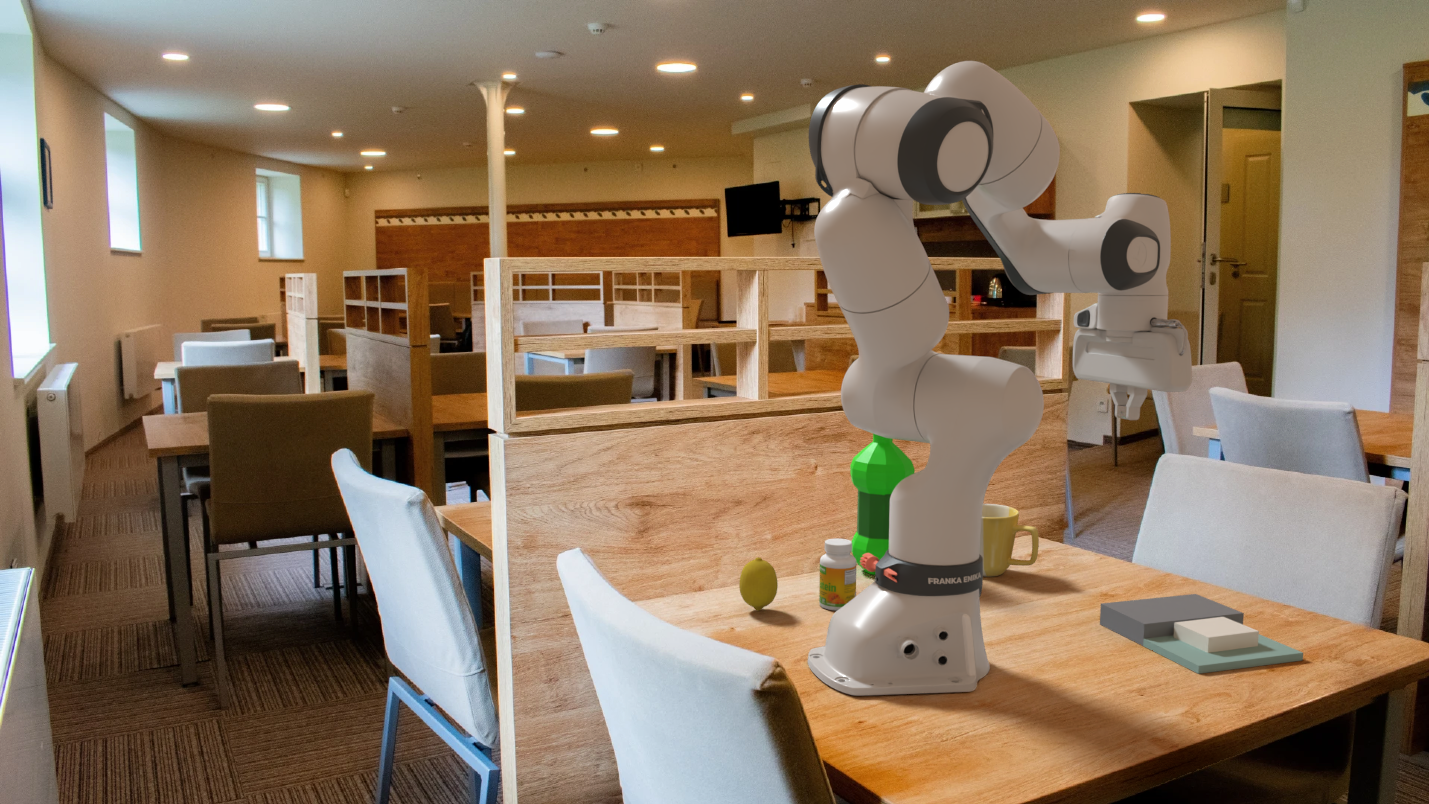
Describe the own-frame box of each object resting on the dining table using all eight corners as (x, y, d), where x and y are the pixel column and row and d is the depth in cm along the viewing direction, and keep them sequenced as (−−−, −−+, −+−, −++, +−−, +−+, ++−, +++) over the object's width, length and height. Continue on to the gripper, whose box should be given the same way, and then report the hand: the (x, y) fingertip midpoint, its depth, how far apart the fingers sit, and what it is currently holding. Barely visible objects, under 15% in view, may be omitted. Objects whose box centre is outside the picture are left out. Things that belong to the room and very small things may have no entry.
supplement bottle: (811, 605, 154) (812, 541, 153) (835, 597, 157) (836, 535, 156) (838, 614, 150) (839, 548, 149) (863, 606, 153) (864, 542, 152)
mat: (1198, 673, 127) (1198, 665, 127) (1143, 646, 137) (1143, 638, 137) (1302, 660, 132) (1303, 652, 132) (1242, 634, 141) (1242, 627, 141)
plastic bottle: (905, 562, 177) (909, 417, 174) (915, 580, 166) (919, 426, 163) (846, 561, 177) (848, 416, 174) (852, 579, 167) (855, 425, 164)
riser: (1143, 646, 137) (1144, 624, 136) (1099, 624, 145) (1100, 603, 145) (1242, 634, 141) (1243, 613, 141) (1194, 614, 150) (1195, 593, 149)
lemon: (755, 619, 147) (755, 564, 146) (731, 609, 152) (731, 556, 151) (785, 612, 150) (785, 558, 150) (761, 602, 155) (761, 550, 154)
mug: (940, 570, 172) (941, 508, 170) (977, 560, 178) (979, 500, 177) (1011, 589, 161) (1013, 524, 160) (1048, 578, 168) (1050, 514, 167)
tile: (1207, 652, 131) (1208, 637, 131) (1173, 637, 137) (1174, 622, 137) (1257, 646, 134) (1258, 631, 134) (1222, 631, 140) (1223, 616, 139)
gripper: (1207, 319, 131) (1201, 428, 132) (1103, 314, 150) (1099, 408, 152) (1165, 320, 129) (1160, 430, 131) (1066, 314, 148) (1062, 410, 150)
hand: (1126, 418), depth 141 cm, fingers closed
